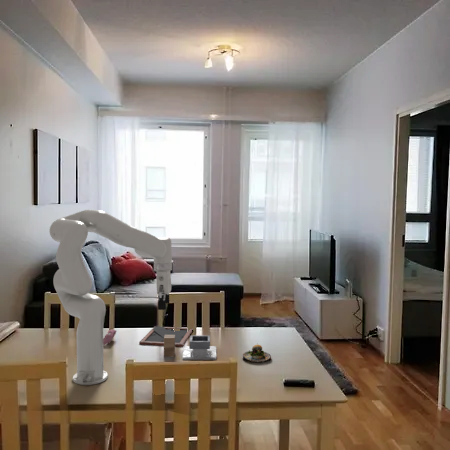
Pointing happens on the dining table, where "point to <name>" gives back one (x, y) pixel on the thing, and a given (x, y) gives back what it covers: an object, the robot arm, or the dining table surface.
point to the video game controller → (109, 336)
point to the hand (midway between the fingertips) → (163, 306)
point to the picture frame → (159, 332)
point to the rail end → (169, 345)
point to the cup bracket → (199, 349)
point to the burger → (256, 354)
